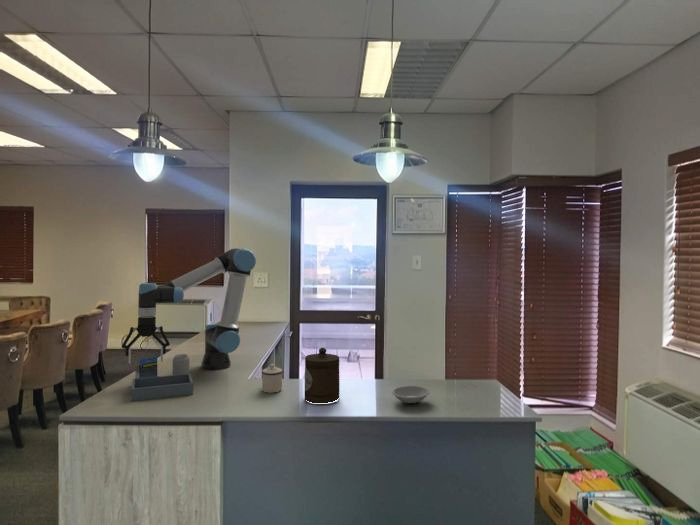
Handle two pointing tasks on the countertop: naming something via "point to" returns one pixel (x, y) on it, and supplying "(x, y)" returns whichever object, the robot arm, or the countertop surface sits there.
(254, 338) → the countertop surface
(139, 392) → the tote
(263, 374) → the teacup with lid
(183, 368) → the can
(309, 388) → the wooden container
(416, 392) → the dish
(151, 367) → the blue retail box
